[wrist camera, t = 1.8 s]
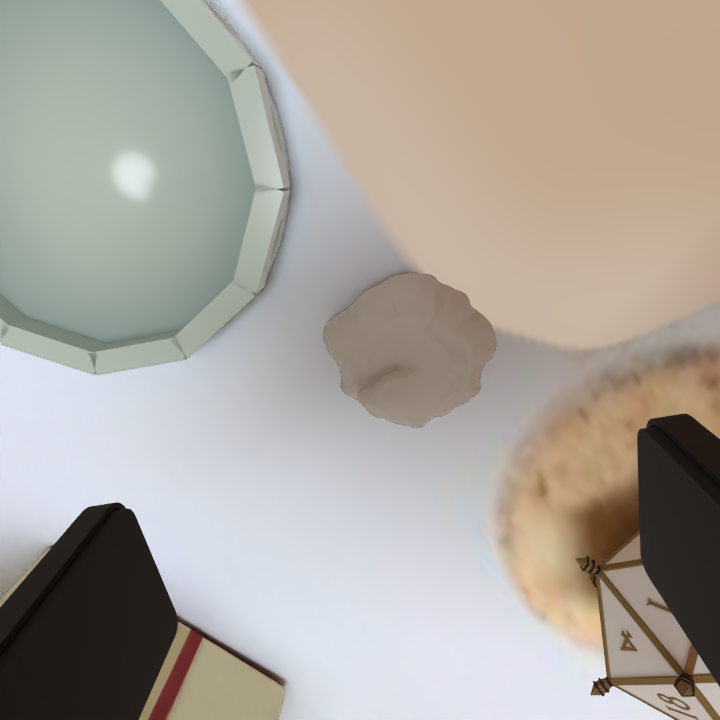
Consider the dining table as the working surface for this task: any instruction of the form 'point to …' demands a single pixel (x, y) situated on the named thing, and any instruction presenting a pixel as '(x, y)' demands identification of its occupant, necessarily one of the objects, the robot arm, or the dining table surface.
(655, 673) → the game die
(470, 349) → the garlic
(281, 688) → the gift box
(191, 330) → the plate
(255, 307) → the dining table surface
